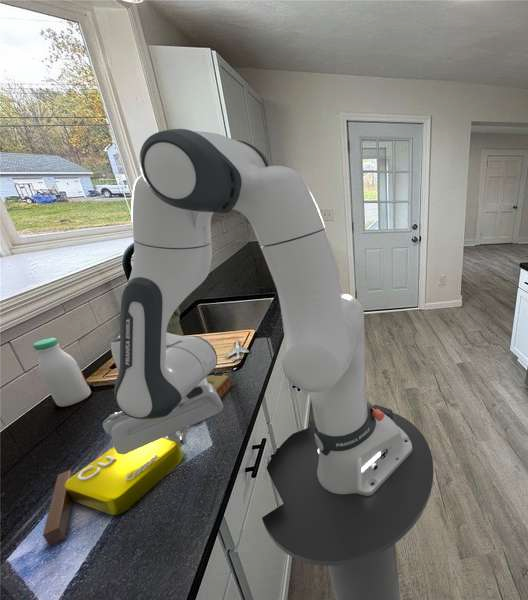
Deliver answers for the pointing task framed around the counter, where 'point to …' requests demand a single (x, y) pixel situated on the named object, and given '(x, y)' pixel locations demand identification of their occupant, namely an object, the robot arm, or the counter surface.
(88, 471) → the element tile
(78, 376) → the milk bottle
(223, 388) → the carton
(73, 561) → the counter surface
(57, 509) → the back rail
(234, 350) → the toy airplane
